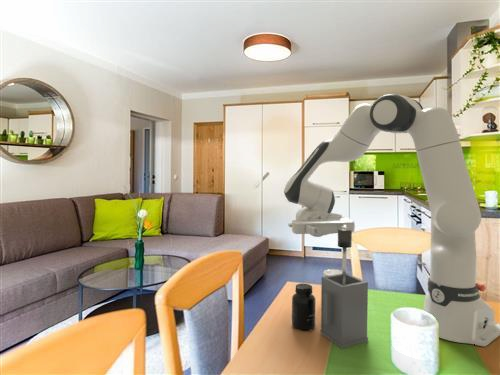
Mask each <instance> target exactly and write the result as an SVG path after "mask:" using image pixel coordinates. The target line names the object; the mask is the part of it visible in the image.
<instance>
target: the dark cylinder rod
mask: <svg viewBox="0 0 500 375" xmlns="http://www.w3.org/2000/svg"><path fill="white" fill-rule="evenodd" d="M352 237H353V233H352V230H349V229H338V233H337V247H339V248H342V264H341V265H342V268H341V269H342V285H347V284H346V273H347V250H348V249H350V248H352V246H353V245H352V243H353V242H352V240H353V239H352Z"/></svg>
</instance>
